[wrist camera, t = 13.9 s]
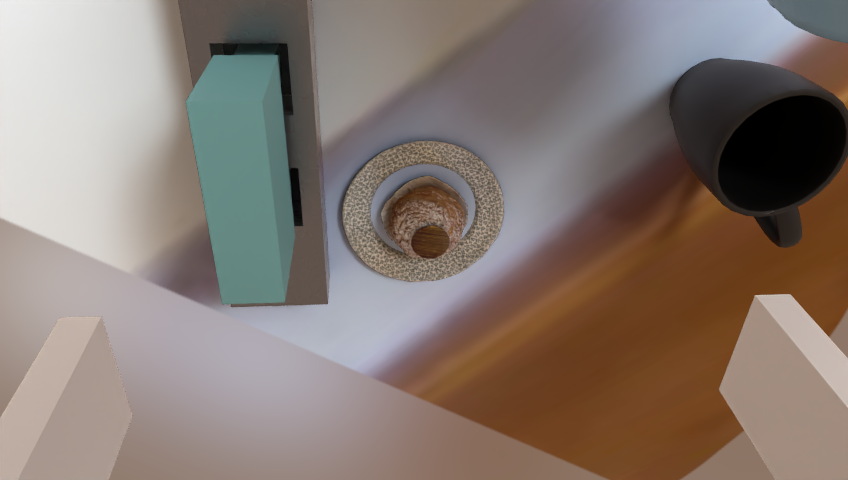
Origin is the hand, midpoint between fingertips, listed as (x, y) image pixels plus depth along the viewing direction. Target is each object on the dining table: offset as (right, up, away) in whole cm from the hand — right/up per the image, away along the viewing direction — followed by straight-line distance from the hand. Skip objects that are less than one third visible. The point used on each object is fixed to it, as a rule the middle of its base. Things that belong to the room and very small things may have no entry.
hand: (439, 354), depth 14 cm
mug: (+20, +11, +33) cm, 40 cm away
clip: (-11, +10, +30) cm, 34 cm away
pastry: (0, +5, +36) cm, 36 cm away
